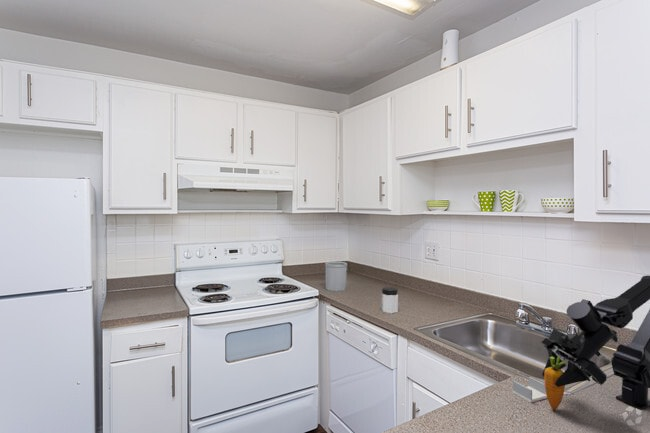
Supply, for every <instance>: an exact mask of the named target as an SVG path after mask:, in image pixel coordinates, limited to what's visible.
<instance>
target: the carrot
mask: <svg viewBox="0 0 650 433" xmlns="http://www.w3.org/2000/svg"><path fill="white" fill-rule="evenodd" d="M548 358H549V357H548ZM549 359H550V361H551V365H552V367H549V368H546V369H545V368H544V369H545V371H544V370H543V371H544V376H543V378H544V384H545V390H546V395H547V398H546V399H547V402H548V403H549V405H550V407H551V409H552V410H553V411H555V410H557V409H558V408H559V406H560V405H561V403H562V400H563V397H564V394H565V389H566V388H565V387H566V385H564V386H560V387H557V386H556V385H555V382H556V381H557V379H558V378H559V377H560V376H561V375H562V374H563V373H564V372H565V371H563V369H559V367H560V366H561V365H563V364H566V362H565V361H563V362H560V363H559V361H560V359H561V357H558V358H557V362H556V366H555V358H554V357H550V358H549Z"/></svg>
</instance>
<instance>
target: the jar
mask: <svg viewBox="0 0 650 433" xmlns="http://www.w3.org/2000/svg"><path fill="white" fill-rule="evenodd" d="M398 293H399V292H398V288H396V287H393V286H391V287H390V286H388V287H387V286H385V287H382V289H381V311H382V312H383V313H387V314H396V313H398V311H399V294H398Z"/></svg>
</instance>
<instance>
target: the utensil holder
mask: <svg viewBox="0 0 650 433" xmlns="http://www.w3.org/2000/svg"><path fill="white" fill-rule="evenodd" d="M324 266H325V290H327V291H331V292H342V291H346V290H347V289H346V288H347V270H348V269H347V268H348V263H347V262H343V261H328V262H327V261H326V262H325V264H324Z"/></svg>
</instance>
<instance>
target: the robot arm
mask: <svg viewBox="0 0 650 433" xmlns="http://www.w3.org/2000/svg"><path fill="white" fill-rule="evenodd" d="M648 301H650V275H643V276H642V277H641V278H640V280H639V281H638V282H636V283H635V284H634V285H632V286H631V287H629V288H628V289H626V291H624V292H623V293H621V294H619V295H618V296H617V297H616V296H615V297H614V298H605V299H603V300H602V301H601V300H600V301H599V302H597V303H596V304H595V305H594V304H593V303H592V302H591V301H590V300H587V299H582V300H581V301H579V302H577V301H576V302H574V303H572V304H570V305H569V306H568V307H567V309H566V315H567V316H568V317H569V319H570V320H571V321H572V322H573V323H574V325H575V326H576V327H577V328H578V329H579V330H580V331H581V332H579V333H578V334H577V333H569V334H566V333H564V332H562V331H559V330H558V329H556V328H553V329H552V331H551V333H550V334H549V336H548V337H545V338H544V339H543V340H542V341H540V343H541V344H542V345H543V347H544V348H545V349H546V351H547V354H548V358H547V361H546V364H545V367H544V369H543V371H542V374H541V376H542V377H544V371H545V369H546V368H549V367H552V365H551V361H550V359H549V358H550V357H554V358H555V366H556V362H557V358H558V357H561V359H560V361H559V363H560V362H564V360H567V364H566V363H565V364H563V365H561V366H560V367H559V369H561V370H563V368H566V369H565V370H564V371H563V372H564V373H563V374H562V375H561V376H560V377H559V378H558V379H557V381H556V382H555V385H556V386H557V387H560V386H564V385H565V386H567V385H572V384H575V383H581V382H591V380H593V381H594V382H595V383H596V384H598V385H599V386H602V385H603V384H605V382H607V377H608V376H607V374H606V373H605V372H604V371H603V370H602V369H601V368H600V367H599V366H598V365H597V364H596V362H594V361H592V360H591V359H592V358H594V356H596V357H598V358H599V357H600V356H601V355H602V354H601V353H600V350H601V349H602V348H603V347H604V346H605V345H606V344H608V342H610V341H611V342H612V341H613V342H614V343H617V342H618V332H617V331H615V330H614V329H612V328H610V327H609V326H611V327H614V328H616V329H617V328H618V329H625V327H626V326H628V325H629V323H630V322H631V321H632V320H633V317H634V316H633V315H634V312H635V311H637V310H638V309H639V308H641V307H642V306H643V305H644V304H646V303H647V302H648ZM610 362H611V367H612V371H613V375H614V376H616V377H618V378H621V379H622V380H621V394H619V395H616V396H615V399H616V400H619V401H620V402H623V403H625V404H628V405H629V406H632V407H635V408H637V409H640V410H643V409H647V408H649V407H650V400H649V389H650V309H649V310H648V312H647V314H646V315H645V317H644V318H643V320H642V322H641V324H640V326H639V327H638V330H637V331H636V333H635V335H634V336H633V338H632V340H631V342H630V343H628V344H626V345H625V344H622V343H621V344H619V345H618V346H617V348H616V350H615V352H614V353H612V357H611V359H610ZM566 366H567V367H566ZM590 378H591V379H590Z"/></svg>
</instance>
